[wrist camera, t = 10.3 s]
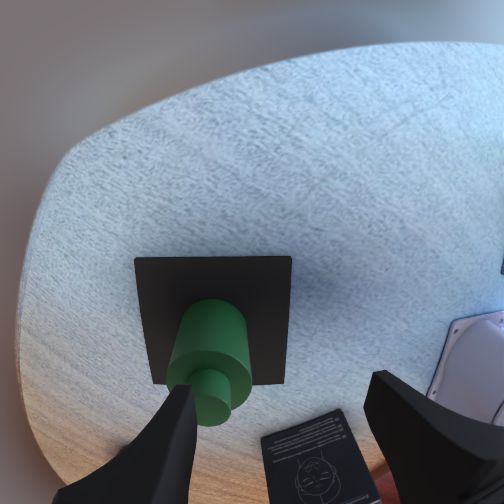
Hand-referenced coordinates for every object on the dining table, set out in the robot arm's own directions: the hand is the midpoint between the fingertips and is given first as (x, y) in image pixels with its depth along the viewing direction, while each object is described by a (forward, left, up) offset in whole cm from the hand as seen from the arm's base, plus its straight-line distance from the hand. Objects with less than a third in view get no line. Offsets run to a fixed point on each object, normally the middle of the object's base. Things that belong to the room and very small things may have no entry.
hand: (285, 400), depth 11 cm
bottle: (-2, +3, -9) cm, 10 cm away
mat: (-2, +3, -10) cm, 10 cm away
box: (-15, -5, -10) cm, 19 cm away
